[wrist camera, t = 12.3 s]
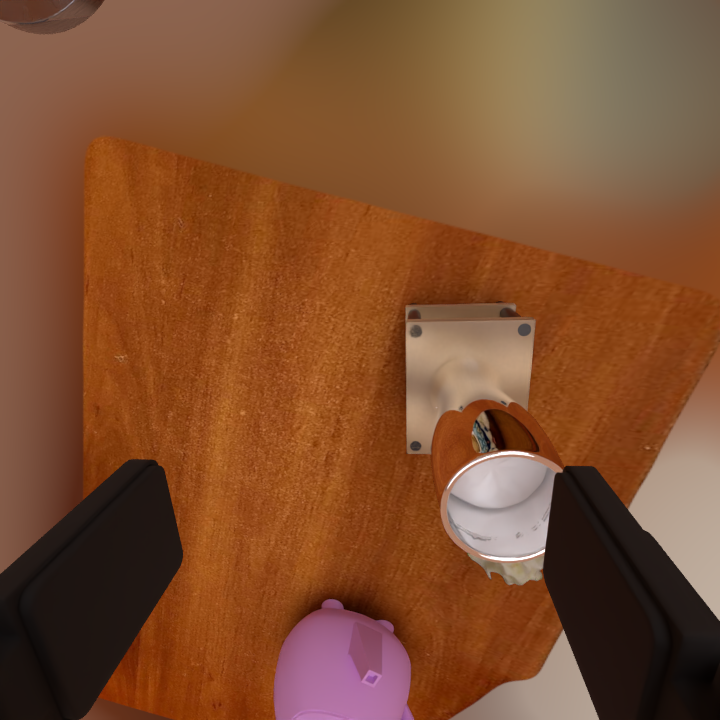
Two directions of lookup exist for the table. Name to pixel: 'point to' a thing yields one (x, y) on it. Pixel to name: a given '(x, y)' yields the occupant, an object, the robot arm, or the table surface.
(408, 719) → the teapot
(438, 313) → the rack
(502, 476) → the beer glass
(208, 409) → the table surface
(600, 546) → the robot arm
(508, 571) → the fruit
